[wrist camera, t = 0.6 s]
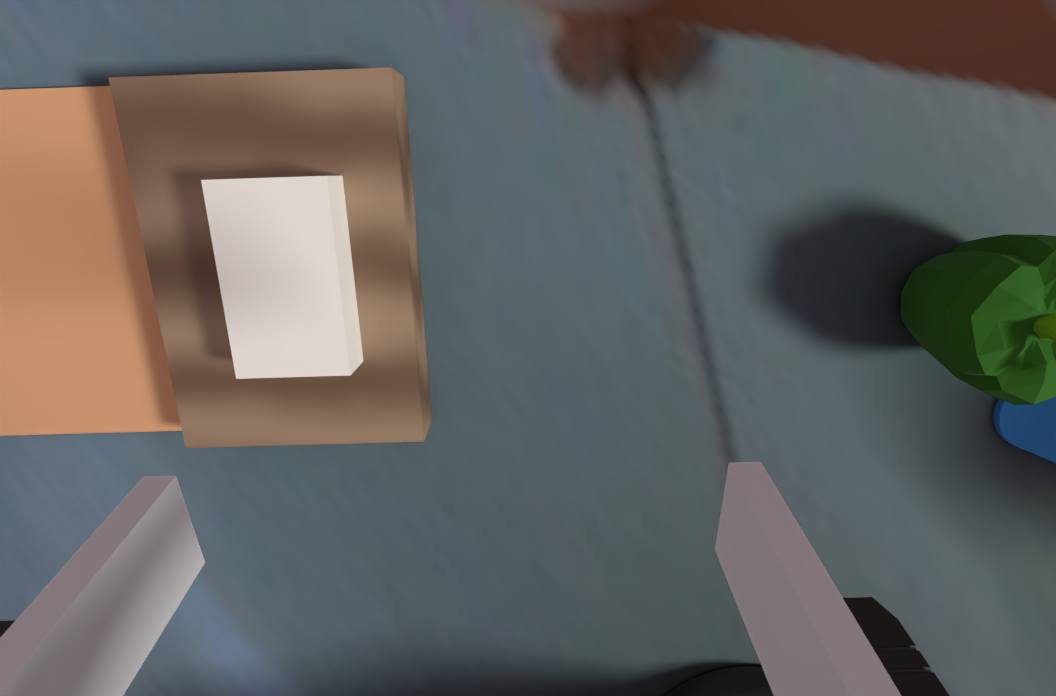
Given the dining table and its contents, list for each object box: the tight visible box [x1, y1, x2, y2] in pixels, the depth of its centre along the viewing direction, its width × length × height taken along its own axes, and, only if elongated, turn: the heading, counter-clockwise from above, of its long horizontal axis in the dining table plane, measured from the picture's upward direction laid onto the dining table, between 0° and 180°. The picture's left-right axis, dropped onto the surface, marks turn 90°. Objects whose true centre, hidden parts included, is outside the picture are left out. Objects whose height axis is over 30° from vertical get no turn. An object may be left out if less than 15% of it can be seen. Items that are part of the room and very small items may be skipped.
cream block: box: [201, 176, 363, 379], centre depth 31 cm, size 10×6×2 cm, turn 2°
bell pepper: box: [901, 235, 1056, 405], centre depth 31 cm, size 8×8×10 cm
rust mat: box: [0, 86, 182, 436], centre depth 35 cm, size 20×16×1 cm
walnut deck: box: [108, 68, 432, 448], centre depth 34 cm, size 20×14×3 cm
